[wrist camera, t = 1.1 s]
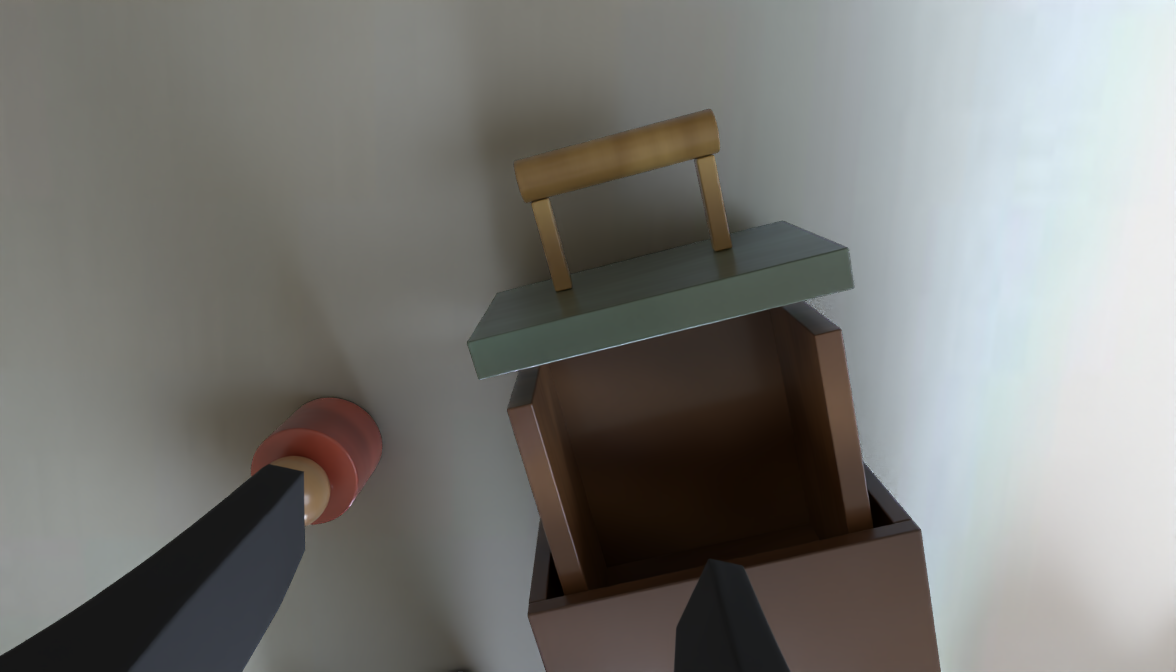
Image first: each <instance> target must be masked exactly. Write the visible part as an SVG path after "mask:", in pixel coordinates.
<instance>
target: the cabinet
mask: <svg viewBox="0 0 1176 672" xmlns="http://www.w3.org/2000/svg"><path fill="white" fill-rule="evenodd" d="M863 466H864V472H865V478H866V484H867V490H868V497H869V503H870V509H871V515H872V522H873V528H872V529H868V530H863V531H859V532H854V533H850V534H845V535H840V536H836V537H831V538H827V539H822V540H817V541H813V542H808V543H804V544H799V545H795V546H790V547H785V548H781V549H776V550H772V551H767V552H763V553H758V554H753V555H749V556H744V557H740V558H735V559H731V560H726V561H724V562H729V563H733V564H738V565H742V566H743V567H744V569H745V571H746V573H747V575H748V577H749V580H750V582H751V584H752V587H753V589H754V592H755V594H756V596H757V599H758V601H759V603H760V606H761V608H762V610H763V612H764V615H765V617H766V619H767V622H768V624H769V626H770V628H771V630H772V633H773V635H774V637H775V639H776V641H777V644H778V646H779V648H780V650H781V652H782V654H783V656H784V659H785V661H786V663H787V665H788V667H789V669H790V671H791V672H941V670H940V662H939V655H938V648H937V641H936V633H935V626H934V619H933V612H932V605H931V597H930V590H929V583H928V576H927V569H926V561H925V554H924V547H923V540H922V533H921V529H920V528H919V527H918V526H917V524H916V523H915V522H914V521H913V520H912V518H911V517H910V516H909V515H908V514H907V512H906V511H905V510H904V509H903V508H902V507H901V505H900V504H899V503H898V502H897V501H896V500H895V498H894V497H893V496H892V495H891V494H890V492H889V491H888V490H887V489H886V488H885V487H884V485H883V484H882V483H881V482H880V481H879V480H878V478H877V477H876V476H875V475H874V474H873V472H872V471H871V470H870V469H869V468H868V467H867V465H866V464H865V463H864V462H863ZM704 568H705V565H703V566H699V567H694V568H689V569H685V570H680V571H676V572H671V573H667V574H662V575H657V576H653V577H648V578H644V579H639V580H635V581H630V582H625V583H621V584H616V585H612V586H607V587H603V588H598V589H593V590H589V591H584V592H580V593H575V594H571V595H566V596H564V592H563V589H562V586H561V583H560V579H559V576H558V573H557V570H556V567H555V563H554V560H553V557H552V554H551V551H550V547H549V544H548V541H547V538H546V534H545V531H544V528H543V525H542V522H541V518H540V523H539V531H538V538H537V546H536V553H535V561H534V568H533V576H532V583H531V591H530V599H529V608H528V619H529V622H530V625H531V628H532V631H533V634H534V637H535V640H536V643H537V646H538V649H539V652H540V655H541V658H542V661H543V664H544V667H545V670H546V672H674V659H675V640H676V627H677V624H678V622H679V620H680V618H681V616H682V614H683V612H684V610H685V608H686V606H687V603H688V601H689V599H690V597H691V595H692V593H693V591H694V589H695V587H696V584H697V582H698V580H699V578H700V576H701V574H702V572H703V570H704Z"/></svg>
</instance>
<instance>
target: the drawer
mask: <svg viewBox="0 0 1176 672" xmlns="http://www.w3.org/2000/svg"><path fill="white" fill-rule="evenodd" d="M719 151H720V138H719V131H718V127H717V123H716V119H715V116H714V114H713V112H712V110H711V109H706V110H702V111H699V112H695V113H691V114H687V115H684V116H680V117H676V118H672V119H669V120H665V121H661V122H657V123H654V124H650V125H646V126H643V127H639V128H635V129H631V130H628V131H624V132H620V133H616V134H613V135H609V136H605V137H601V138H598V139H594V140H590V141H586V142H583V143H579V144H575V145H571V146H568V147H564V148H560V149H556V150H553V151H549V152H545V153H542V154H538V155H534V156H530V157H527V158H523V159H519V160H515V161H514V170H515V175H516V179H517V183H518V187H519V190H520V193H521V196H522V198H523V200H524V202H525V203H529V202H532V203H531V205H532V209H533V213H534V216H535V220H536V223H537V227H538V231H539V234H540V238H541V242H542V245H543V249H544V252H545V256H546V260H547V263H548V267H549V270H550V274H551V278H552V279H550V280H546V281H543V282H539V283H535V284H531V285H527V286H523V287H519V288H515V289H511V290H507V291H503V292H499V293H497V294H496V296H495V298H494V299H493V301H492V302H491V304H490V306H489V307H488V309H487V311H486V312H485V314H484V316H483V317H482V319H481V321H480V322H479V324H478V325H477V327H476V329H475V330H474V332H473V334H472V335H471V337H470V339H469V340H468V342H467V345H468V348H469V351H470V354H471V357H472V360H473V363H474V367H475V370H476V373H477V376H478V379H479V380H481V379H486V378H490V377H494V376H498V375H502V374H506V373H510V372H514V371H518V370H519V373H518V376H517V379H516V382H515V386H514V389H513V392H512V395H511V399H510V402H509V405H508V408H507V412H508V416H509V419H510V422H511V425H512V428H513V432H514V435H515V438H516V441H517V444H518V448H519V451H520V454H521V457H522V461H523V464H524V467H525V470H526V473H527V477H528V480H529V483H530V486H531V489H532V493H533V496H534V499H535V502H536V506H537V509H538V512H539V515H540V518H541V522H542V525H543V528H544V531H545V534H546V538H547V541H548V544H549V547H550V551H551V554H552V557H553V560H554V563H555V567H556V570H557V573H558V576H559V579H560V583H561V586H562V589H563V592H564V596H566V595H571V594H575V593H580V592H584V591H589V590H593V589H598V588H603V587H607V586H612V585H616V584H621V583H625V582H630V581H635V580H639V579H644V578H648V577H653V576H657V575H662V574H667V573H671V572H676V571H680V570H685V569H689V568H694V567H699V566H703V565H706V563H707V561H708V559H709V558H710V559H715V560H719V561H726V560H731V559H735V558H740V557H744V556H749V555H753V554H758V553H763V552H767V551H772V550H776V549H781V548H785V547H790V546H795V545H799V544H804V543H808V542H813V541H817V540H822V539H827V538H831V537H836V536H840V535H845V534H850V533H854V532H859V531H863V530H868V529H872V528H873V522H872V515H871V509H870V503H869V497H868V490H867V484H866V478H865V472H864V466H863V459H862V453H861V447H860V441H859V434H858V428H857V422H856V416H855V409H854V403H853V397H852V391H851V384H850V378H849V372H848V366H847V360H846V353H845V347H844V341H843V335H842V330H841V329H840V328H839V327H838V326H836V325H835V324H834V323H832V322H831V321H830V320H828V319H827V318H826V317H825V316H823V315H822V314H821V313H819V312H818V311H817V310H815V309H814V308H813V307H811V306H810V305H809V304H807V303H806V302H805V300H809V299H813V298H817V297H821V296H825V295H829V294H833V293H837V292H842V291H846V290H850V289H853V288H854V281H853V274H852V268H851V261H850V254H849V249H848V247H845V246H843V245H841V244H838V243H836V242H833V241H831V240H828V239H826V238H824V237H821V236H819V235H816V234H814V233H812V232H809V231H807V230H804V229H802V228H800V227H797V226H795V225H792V224H790V223H787V222H785V221H779V222H775V223H771V224H767V225H764V226H760V227H756V228H752V229H748V230H744V231H740V232H736V233H732V234H730V232H729V227H728V221H727V216H726V211H725V206H724V201H723V196H722V191H721V186H720V181H719V176H718V171H717V166H716V161H715V157H714V155H712V154H716V153H718V152H719ZM693 159H694V163H695V167H696V172H697V177H698V182H699V187H700V192H701V196H702V201H703V206H704V211H705V216H706V220H707V225H708V230H709V235H710V239H708V240H704V241H700V242H696V243H692V244H689V245H685V246H681V247H677V248H673V249H669V250H665V251H661V252H657V253H653V254H649V255H645V256H641V257H637V258H633V259H629V260H625V261H621V262H618V263H614V264H610V265H606V266H602V267H598V268H594V269H590V270H586V271H582V272H578V273H574V274H570V272H569V269H568V265H567V261H566V257H565V254H564V250H563V246H562V242H561V239H560V235H559V231H558V228H557V224H556V220H555V216H554V213H553V209H552V205H551V201H550V198H549V197H552V196H555V195H559V194H563V193H567V192H571V191H575V190H578V189H582V188H586V187H590V186H594V185H597V184H601V183H605V182H609V181H613V180H616V179H620V178H624V177H628V176H632V175H635V174H639V173H643V172H647V171H651V170H655V169H658V168H662V167H666V166H670V165H674V164H677V163H681V162H685V161H689V160H693Z"/></svg>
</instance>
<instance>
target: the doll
mask: <svg viewBox="0 0 1176 672" xmlns="http://www.w3.org/2000/svg"><path fill="white" fill-rule="evenodd" d="M381 454H382V439H381V434H380V431H379V429H378V427H377V425H376V423H375V422H374V420H373V419H372V417H371V416H370V415H369V414H368V413H367V412H366V411H365V410H363V409H362V408H361V407H359V406H358V405H356V404H354V403H352V402H349V401H347V400H343V399H338V398H320V399H316V400H313V401H310V402H308V403H306V404H304V405H303V406H301V407H300V408H299V409H298V410H297V411H296V412H294V413H293V414H292V415H291V416H290V417H289V418H288V419H287V420H286V421H285V422H284V423H282V424H281V425H280V426H279V427H278V428H277V429H276V430H275V431H274V432H273V433H272V434H271V435H269V436H268V437H267V438H266V439H265V440H264V441H263V442H262V443H261V444H260V446H259V447H258V448H257V450H256V452H255V454H254V457H253V460H252V465H251V477H252V476H253V475H254V474H255V473H256V472H258V471H259V470H260V469H261V468H262V467H264V466H266V465H268V464H271V465H276V466H281V467H285V468H290V469H295V470H299V471H304V511H305V527H306V526H308V525H313V524H321V523H326V522H329V521H331V520H334V519H336V518H338V517H339V516H341V515H342V514H343V513H345V512H346V511H347V510H348V509H349V507H350V506H351V505H352V503H353V502H354V500H355V499H356V497H357V496H358V494H359V493H360V491H361V490H362V488H363V487H364V485H365V484H366V482H367V480H368V479H369V477H370V476H371V474H372V473H373V471H374V470H375V468H376V467H377V465H378V463H379V461H380V458H381Z"/></svg>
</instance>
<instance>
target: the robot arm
mask: <svg viewBox="0 0 1176 672" xmlns="http://www.w3.org/2000/svg"><path fill="white" fill-rule="evenodd" d="M304 551H305V511H304V471H299V470H295V469H290V468H285V467H281V466H276V465H271V464H268V465H266V466H264V467H262V468H261V469H260V470H259V471H258V472H256V473H255V474H254V475H253V476H252V477H250V478H249V479H248V480H247V481H246V482H244V483H243V484H242V485H241V486H240V487H238V488H237V489H236V490H235V491H234V492H232V493H231V494H230V495H229V496H228V497H226V498H225V499H224V500H223V501H222V502H220V503H219V504H218V505H217V506H215V507H214V508H213V509H212V510H210V511H209V512H208V513H207V514H205V515H204V516H203V517H202V518H200V519H199V520H198V521H197V522H195V523H194V524H193V525H192V526H190V527H189V528H188V529H186V530H185V531H184V532H182V533H181V534H180V535H179V536H177V537H176V538H175V539H173V540H172V541H171V542H169V543H168V544H167V545H165V546H164V547H163V548H162V549H160V550H159V551H158V552H156V553H155V554H154V555H152V556H151V557H150V558H148V559H147V560H146V561H144V562H143V563H141V564H140V565H139V566H137V567H136V568H134V569H133V570H132V571H130V572H129V573H127V574H126V575H124V576H123V577H122V578H120V579H119V580H117V581H116V582H114V583H113V584H112V585H110V586H109V587H107V588H106V589H105V590H103V591H102V592H100V593H99V594H97V595H96V596H95V597H93V598H92V599H90V600H89V601H87V602H86V603H84V604H83V605H81V606H80V607H78V608H77V609H75V610H74V611H72V612H71V613H69V614H68V615H66V616H64V617H63V618H61V619H60V620H58V621H57V622H55V623H53V624H52V625H50V626H49V627H47V628H46V629H44V630H42V631H41V632H39V633H37V634H36V635H34V636H33V637H31V638H29V639H28V640H26V641H24V642H23V643H21V644H20V645H18V646H16V647H15V648H13V649H11V650H10V651H8V652H6V653H4V654H3V655H1V656H0V672H242V671H243V669H244V668H245V666H246V664H247V662H248V661H249V659H250V657H251V656H252V654H253V652H254V651H255V649H256V647H257V645H258V644H259V642H260V640H261V638H262V637H263V635H264V633H265V632H266V630H267V628H268V626H269V625H270V623H271V621H272V619H273V618H274V616H275V614H276V612H277V611H278V609H279V607H280V605H281V603H282V601H283V599H284V596H285V594H286V592H287V590H288V588H289V585H290V583H291V581H292V579H293V576H294V574H295V572H296V569H297V567H298V565H299V562H300V560H301V558H302V556H303V553H304ZM460 672H461V671H460ZM674 672H791V671H790V669H789V667H788V665H787V663H786V661H785V659H784V656H783V654H782V652H781V650H780V648H779V646H778V644H777V641H776V639H775V637H774V635H773V633H772V630H771V628H770V626H769V624H768V622H767V619H766V617H765V615H764V612H763V610H762V608H761V606H760V603H759V601H758V599H757V596H756V594H755V592H754V589H753V587H752V584H751V582H750V580H749V577H748V575H747V573H746V571H745V569H744V567H743V566H742V565H738V564H733V563H729V562H724V561H719V560H715V559H710V558H709V559H708V561H707V563H706V565H705V568H704V570H703V572H702V574H701V576H700V578H699V580H698V582H697V584H696V587H695V589H694V591H693V593H692V595H691V597H690V599H689V601H688V603H687V606H686V608H685V610H684V612H683V614H682V616H681V618H680V620H679V622H678V624H677V627H676V640H675V659H674Z"/></svg>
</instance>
